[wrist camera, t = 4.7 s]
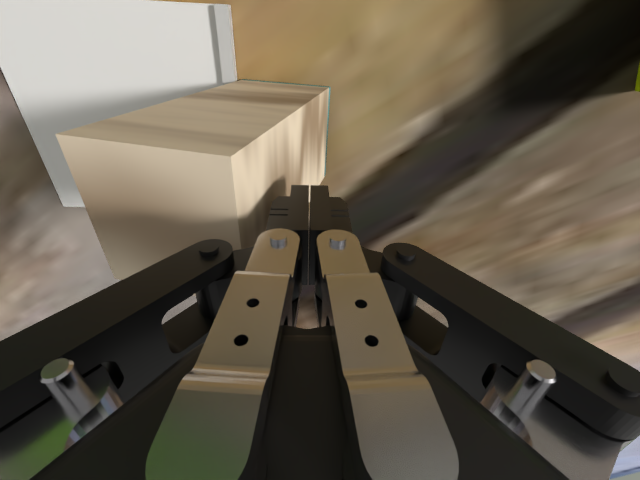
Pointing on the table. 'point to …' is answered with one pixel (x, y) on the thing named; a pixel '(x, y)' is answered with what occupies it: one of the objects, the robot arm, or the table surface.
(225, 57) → the mat
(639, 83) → the puzzle toy
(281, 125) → the maple block
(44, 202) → the table surface
